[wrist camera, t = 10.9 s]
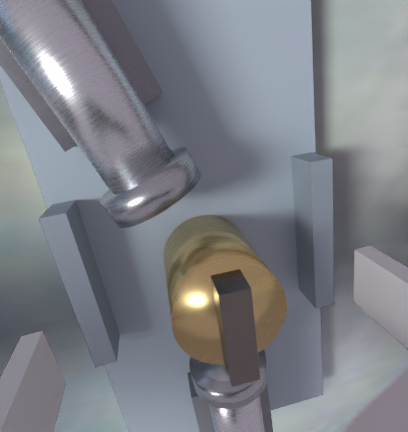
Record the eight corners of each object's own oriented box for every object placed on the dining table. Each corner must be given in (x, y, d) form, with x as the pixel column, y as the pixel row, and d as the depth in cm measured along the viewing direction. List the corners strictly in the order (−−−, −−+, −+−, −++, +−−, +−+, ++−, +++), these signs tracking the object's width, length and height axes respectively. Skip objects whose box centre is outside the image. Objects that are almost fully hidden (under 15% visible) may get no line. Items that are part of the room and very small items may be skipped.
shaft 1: (116, 203, 17) (103, 247, 11) (-26, 9, 13) (-141, -57, 8) (195, 155, 16) (219, 177, 11) (77, -54, 13) (31, -165, 8)
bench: (136, 431, 24) (135, 484, 21) (-25, -27, 14) (-83, -72, 10) (313, 379, 26) (339, 420, 23) (293, -64, 15) (336, -113, 12)
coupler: (171, 298, 19) (186, 405, 12) (155, 224, 17) (163, 300, 10) (248, 280, 20) (304, 372, 13) (240, 207, 18) (300, 269, 11)
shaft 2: (210, 448, 22) (224, 521, 18) (184, 340, 19) (195, 402, 15) (265, 431, 23) (290, 498, 19) (251, 323, 19) (278, 378, 15)
